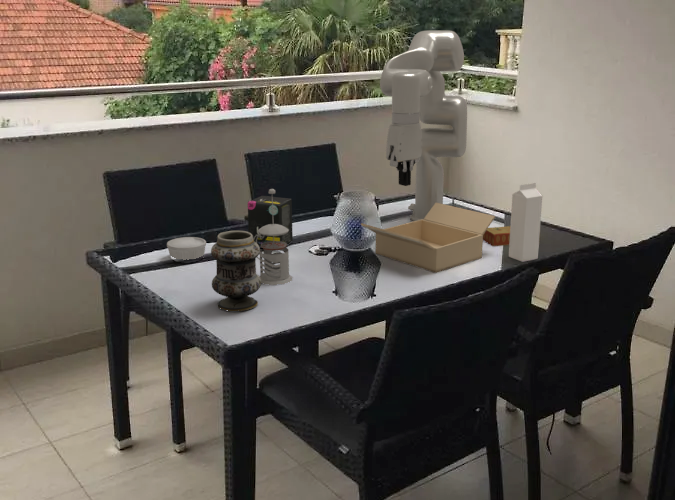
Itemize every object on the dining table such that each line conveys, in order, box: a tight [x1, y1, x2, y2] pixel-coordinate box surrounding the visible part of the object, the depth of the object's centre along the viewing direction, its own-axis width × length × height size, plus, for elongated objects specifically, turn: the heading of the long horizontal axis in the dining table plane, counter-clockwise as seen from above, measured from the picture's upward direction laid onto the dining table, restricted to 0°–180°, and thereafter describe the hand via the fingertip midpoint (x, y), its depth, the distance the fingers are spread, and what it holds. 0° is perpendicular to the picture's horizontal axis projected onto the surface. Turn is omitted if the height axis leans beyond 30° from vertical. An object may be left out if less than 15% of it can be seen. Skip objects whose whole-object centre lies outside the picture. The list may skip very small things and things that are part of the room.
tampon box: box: [247, 195, 294, 246], centre depth 232 cm, size 11×9×15 cm
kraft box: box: [375, 219, 484, 274], centre depth 222 cm, size 24×20×7 cm
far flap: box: [424, 203, 496, 235], centre depth 229 cm, size 23×7×1 cm
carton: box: [483, 225, 541, 247], centre depth 237 cm, size 8×16×4 cm, turn 105°
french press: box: [253, 188, 294, 286], centre depth 202 cm, size 10×12×25 cm
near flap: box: [360, 223, 435, 250], centre depth 212 cm, size 23×7×1 cm, turn 41°
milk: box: [508, 182, 543, 263], centre depth 218 cm, size 6×6×22 cm
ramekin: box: [166, 236, 207, 260], centre depth 222 cm, size 11×11×5 cm
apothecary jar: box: [210, 230, 262, 312], centre depth 184 cm, size 12×12×18 cm
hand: (404, 184), depth 211 cm, fingers closed
